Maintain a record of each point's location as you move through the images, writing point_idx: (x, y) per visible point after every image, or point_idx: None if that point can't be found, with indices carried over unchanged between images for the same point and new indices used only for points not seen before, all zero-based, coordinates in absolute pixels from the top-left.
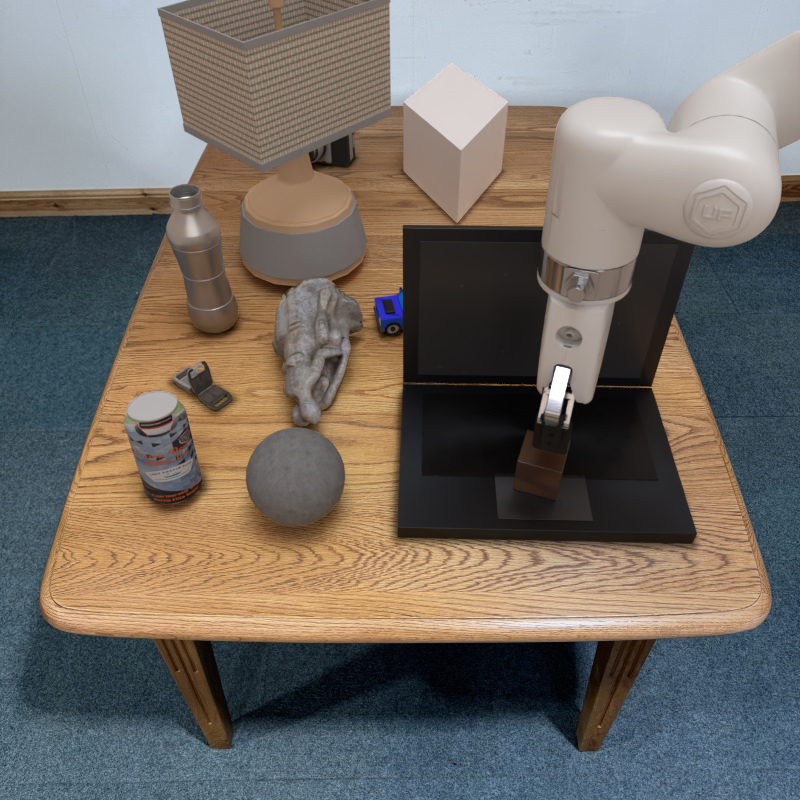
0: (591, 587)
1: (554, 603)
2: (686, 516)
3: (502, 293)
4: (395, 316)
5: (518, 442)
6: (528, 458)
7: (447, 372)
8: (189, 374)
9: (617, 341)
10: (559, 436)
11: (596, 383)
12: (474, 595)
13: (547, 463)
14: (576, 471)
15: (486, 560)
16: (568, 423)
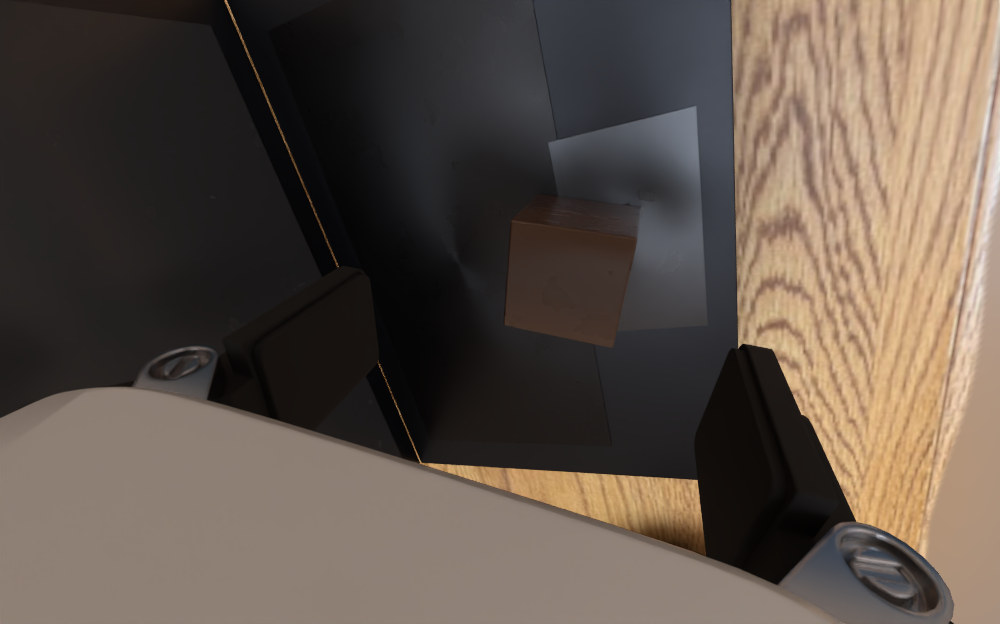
0: (885, 80)
1: (932, 174)
2: None
3: None
4: None
5: (490, 291)
6: (598, 323)
7: (381, 424)
8: None
9: (129, 120)
10: (843, 498)
11: (604, 576)
12: (887, 342)
13: (608, 278)
14: (540, 162)
15: (788, 323)
16: (947, 619)
